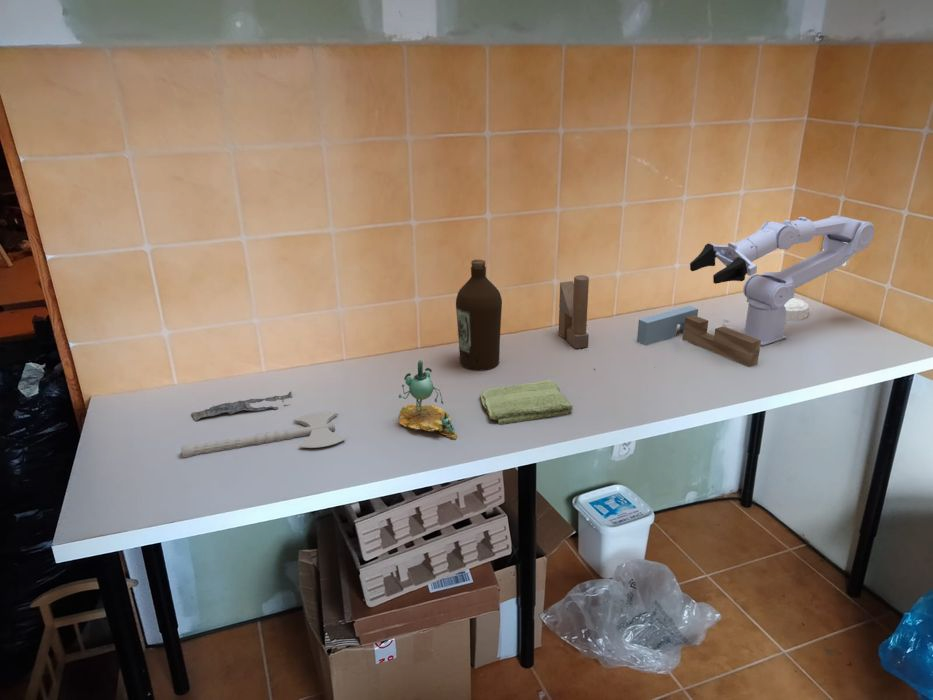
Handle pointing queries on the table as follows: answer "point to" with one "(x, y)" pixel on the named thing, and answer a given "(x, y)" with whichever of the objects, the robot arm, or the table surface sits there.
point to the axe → (279, 436)
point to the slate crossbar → (663, 325)
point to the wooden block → (574, 311)
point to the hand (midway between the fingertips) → (702, 273)
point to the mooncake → (796, 309)
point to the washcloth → (525, 402)
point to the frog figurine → (424, 406)
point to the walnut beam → (722, 341)
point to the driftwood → (237, 407)
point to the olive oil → (479, 320)
